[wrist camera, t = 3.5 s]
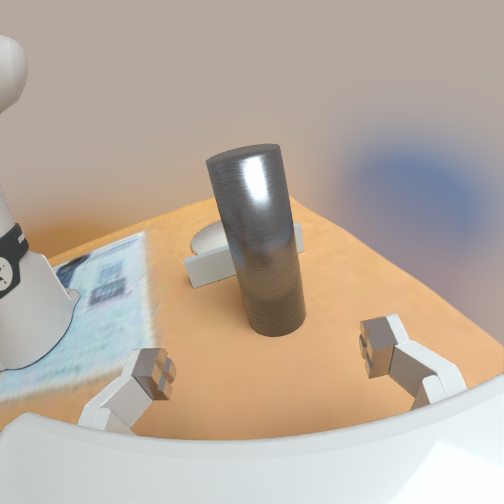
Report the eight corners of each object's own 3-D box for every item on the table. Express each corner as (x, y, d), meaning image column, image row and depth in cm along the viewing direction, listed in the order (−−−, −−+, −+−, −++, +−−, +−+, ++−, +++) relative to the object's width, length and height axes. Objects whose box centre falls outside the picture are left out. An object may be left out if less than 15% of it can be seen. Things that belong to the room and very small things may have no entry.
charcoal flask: (239, 328, 26) (190, 167, 19) (266, 294, 30) (232, 147, 23) (291, 342, 24) (256, 161, 16) (313, 303, 27) (291, 141, 20)
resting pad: (176, 253, 42) (175, 250, 42) (222, 217, 50) (221, 214, 50) (244, 264, 36) (243, 260, 36) (285, 220, 44) (284, 217, 44)
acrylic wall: (193, 288, 33) (183, 263, 32) (192, 284, 34) (183, 259, 33) (304, 251, 36) (300, 225, 34) (300, 247, 36) (297, 222, 35)
